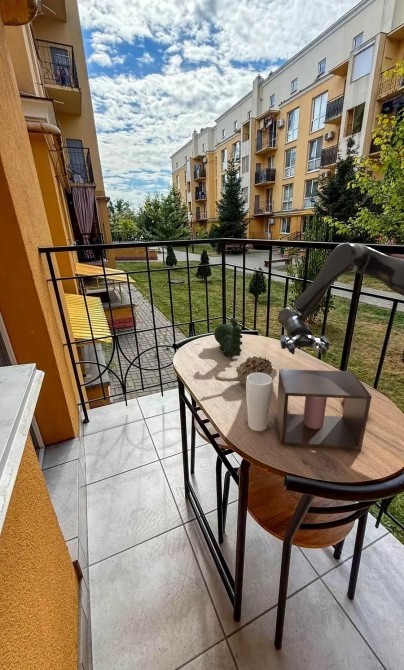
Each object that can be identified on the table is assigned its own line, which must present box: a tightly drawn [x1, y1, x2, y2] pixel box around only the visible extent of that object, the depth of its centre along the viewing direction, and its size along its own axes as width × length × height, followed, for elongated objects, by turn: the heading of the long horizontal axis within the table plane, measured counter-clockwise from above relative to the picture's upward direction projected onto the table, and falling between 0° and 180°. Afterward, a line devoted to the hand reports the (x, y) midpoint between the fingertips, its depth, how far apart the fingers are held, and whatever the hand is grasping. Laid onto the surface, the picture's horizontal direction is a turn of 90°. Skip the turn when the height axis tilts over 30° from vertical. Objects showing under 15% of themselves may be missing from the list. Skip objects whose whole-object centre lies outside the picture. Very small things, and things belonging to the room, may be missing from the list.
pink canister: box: [303, 396, 328, 429], centre depth 75 cm, size 5×5×10 cm
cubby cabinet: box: [275, 368, 373, 452], centre depth 72 cm, size 19×12×15 cm, turn 82°
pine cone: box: [213, 355, 273, 386], centre depth 97 cm, size 22×10×10 cm, turn 113°
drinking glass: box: [245, 373, 273, 432], centre depth 75 cm, size 7×7×15 cm
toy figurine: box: [213, 317, 244, 358], centre depth 124 cm, size 9×19×25 cm
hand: (308, 351), depth 83 cm, fingers open, 8 cm apart
